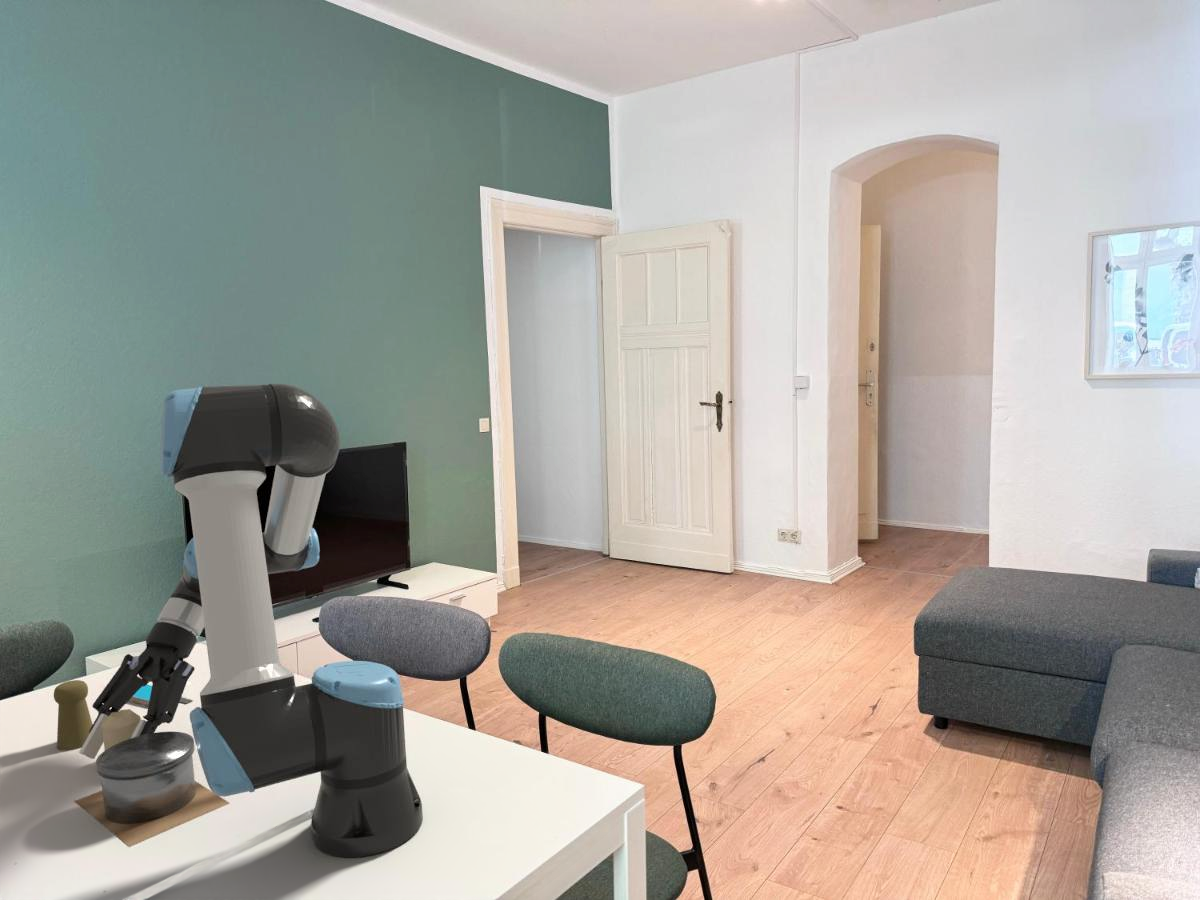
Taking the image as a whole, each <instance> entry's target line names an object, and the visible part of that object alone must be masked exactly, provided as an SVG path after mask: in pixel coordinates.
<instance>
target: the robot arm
mask: <svg viewBox="0 0 1200 900" xmlns="http://www.w3.org/2000/svg"><path fill="white" fill-rule="evenodd" d="M160 430H161V432H160V434H161V435H160V453H159V454H160V455H159V456H160V474H161V475H162V476H164V477H167V478H171V477H173V483H174V485H173V486H174V489H175V490H176V491H177V492H179V493H180V494H182V495H183V496H184V497H186V499H187V500H188V503H189V504H188V505H189V513H190V519H191V520H190V521H191V527H192V528H191V529H192V535H193V537H192V538H191V539H190V541H189V542H188V543H187V545H186V548H185V551H184V552H183V555H182V572H181V577H180V579H179V580H178V582H177V585H176V587H175V588H174V590H173V593H172V594H171V595H170V597H169V599H168V600H167V601H166V603H165V605H164V606H163V609H162V610H161V612H160V614H159V615H158V617H157V622H155V623H154V625H153V627H152V628H151V630H150V631H149V633H148V635H147V636H146V639H145V644H146V645H145V646H146V647H145V649H144V650H143V652H141V653H140V654H139V655H137V656H134V655H131V654H130V653H128V654H125V656H124V657H123V660H122V661H121V664H120V666H119V668H118V669H117V670H116V671H115V673H114V674H113V675H112V677H111V678H110V680H109V682H108V683H107V684H106V686H104V688H103V690H102V691H101V693H100V694H99V695H98V696H97V697H96V699H95V700H94V702H93V703H92V708H93V709H94V710H96V711H97V712H98V713H97V716H96V718H95V719H94V721H93V722H92V724H93V725H92V727H91V728H90V731H89V733H90V734H89V736H88V737H87V739H86V741H85V743H84V744H83V746H82V747H81V748H80V750H79V751H78V753H79V754H81V755H83V756H85V757H87V758H89V759H92V760H94V759H95V758H96V756H97V755H98V754H99V753H98V752H99V751H100V750H101V747H102V746H103V745H104V740H103V730H102V724H103V723H104V722H105V720H106V719H107V718H108V717H109V716H110V714H111V713H112V712H119V711H120V710H122V708H123V707H124V706H125V705H127V703H128V702H130V701H129V700H130V699H131V697H132V696H133V695H134V694H135V693H136V692H137V691H138V690H139V689H140V688H141V687H142V686H146V685H149V683H152V690H151V695H150V700H149V706H147V712H146V714H145V715H143V716H142V718H143V719H141V720H140V722H139V723H138V725H137V727H136V729H135V731H134V733H133V735H132V736H131V738H134V737H137V736H141V735H145V734H150V733H156V730H157V729H158V727H160V726H161V725H162V724H171V723H172V722H173V720H174V717H175V714H176V712H177V709H178V707H179V703H181V702H180V699H181V697H183V693H184V691H185V688H186V687H185V686H186V683H187V682H188V681H189V679H190V677H191V676H192V675H193V673H194V671H195V667H194V666H193V665H192V664H190V663H188V662H187V661H186V659H187V658H189V657H190V655H191V653H192V651H193V649H194V647H195V645H196V644H197V642H198V638H197V637H199V636H200V635H201V633H202V632H203V630H204V631H205V632H204V633H205V640H206V649H207V657H208V665H209V673H210V678H209V680H208V682H207V683H206V684H205V685H204V687H203V688H202V689H201V691H200V692H199V697H200V706H201V707H200V706H197V707H195V708H194V709H192V710H191V711H190V712H189V720H190V723H191V729H192V735H193V739H194V744H195V746H196V751H197V753H198V758H199V761H200V764H201V767H202V770H203V771H202V772H203V774H204V777H205V780H206V782H207V785H208V787H209V790H210V791H212V792H213V793H214V794H216V795H218V796H220V797H221V798H223V797H230V796H235V795H238V794H239V795H240V794H244V793H248V792H249V793H253V792H255V791H256V790H258V789H261V788H265V787H270V786H273V785H276V784H281V783H284V782H287V781H292V780H295V779H298V778H302V777H307V776H310V775H313V774H316V773H320V786H319V789H318V793H317V798H316V801H315V806H314V810H313V811H314V812H313V814H312V817H311V822H310V823H311V824H310V829H311V837H312V839H311V840H312V843H313V844H314V846H315V847H316V849H318V850H319V851H321V852H323V853H324V854H328V855H331V856H335V857H339V858H340V857H342V858H358V857H360V858H361V857H366V856H372V855H376V854H380V853H383V852H386V851H389V850H392V849H394V848H396V847H398V846H400V845H402V844H404V843H406V842H407V841H408V840H410V839H411V838H412V837H413V836H415V835H416V833H418V831H419V830H420V828H421V827H422V824H423V821H424V820H423V819H424V818H423V817H424V815H423V803H422V799H421V797H420V795H419V792H418V790H417V787H416V786H415V783H414V780H413V778H412V776H411V774H410V772H409V769H408V764H407V763H408V762H407V749H406V747H407V746H406V733H405V719H404V718H405V717H404V705H405V700H404V696H403V691H402V690H403V689H402V684H401V680H400V677H399V674H398V673H397V672H396V671H395V669H393V668H391V667H390V666H387V665H385V664H383V663H382V664H381V663H380V662H379V663H378V662H373V661H365V660H344V661H343V660H342V661H336V662H335V661H334V662H331V663H327V664H325V665H324V666H320V667H318V668H317V669H316V670H315V671H314V672H313V675H312V677H311V682H310V683H307V684H304V685H297V686H296V682H295V675H294V672H293V671H291V670H290V669H288V668H287V667H286V666H284V665H282V663H281V660H280V655H279V653H280V652H279V647H278V638H277V633H276V631H277V630H276V624H275V618H274V613H273V612H274V611H273V604H272V596H271V588H270V582H269V575H271V574H272V575H273V574H280V573H287V572H298V571H300V570H304V569H308V568H312V567H315V566H317V564H318V563H319V561H320V551H321V550H320V543H319V542H320V541H319V536H318V534H317V531H316V529H315V527H313V525H314V521H315V517H316V514H317V513H316V512H317V509H318V507H319V506H318V505H319V502H320V497H321V495H322V494H321V493H322V491H323V487H324V482H325V478H326V474H328V473H329V472H330V471H331V470H332V469H333V468H334V466H335V465H336V462H337V459H338V456H339V452H340V449H341V448H340V445H341V441H340V439H341V438H340V432H339V428H338V425H337V423H336V421H335V419H334V417H333V415H332V413H331V412H330V410H328V408H327V407H326V406H325V405H324V404H323V402H321V400H319V399H318V398H316V397H315V396H314V395H313V394H312V393H309V392H308V391H306V390H304V389H302V388H299V387H298V386H294V385H290V384H286V383H269V384H256V385H255V384H250V385H225V386H198V387H195V388H193V387H192V388H185V389H175V390H173V391H170V392H169V393H168V394H166V395H165V397H164V400H163V403H162V413H161V429H160ZM271 466H272V467H273V466H275V471H274V476H273V480H272V486H271V493H270V499H269V503H268V504H269V505H268V511H267V516H266V521H265V528H264V532H262V531H263V530H262V529H263V528H262V523H261V515H260V508H259V501H258V495H257V493H258V489H259V487H260V486H261V485H262V484H263V483H264V481H265V480H266V478H267V473H266V467H271ZM184 659H185V660H184ZM131 738H130V739H131Z"/></svg>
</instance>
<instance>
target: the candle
mask: <svg viewBox="0 0 1200 900" xmlns="http://www.w3.org/2000/svg"><path fill="white" fill-rule="evenodd" d="M140 720H142V719H141V716H140V715H139V714H138V713H136V712H134V711H133V710H132V709H130V708H129V709H120V710H119V711H118V712H112V713H111V714H110V716H109V717H108V718H107V719H106V720H105V722H104V723H103V724H102V730H103V740H104V742H103V747H104V751H105V750H107V749H108V748H110V747H112V746H113V745H115V744H118V743H120V742H122V741H125V740H128V739H130V738H131V736H132V735H133V733H134V731H135V729H136V727H137V725H138V723H139V722H140Z"/></svg>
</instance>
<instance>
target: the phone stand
mask: <svg viewBox="0 0 1200 900" xmlns="http://www.w3.org/2000/svg"><path fill="white" fill-rule="evenodd" d="M152 685H153V684H152ZM152 685H151V684H147V685H146V686H142V687H141V688H140V689H139V690H138V691H137V692H136V693H135V694H134V695H133V696H132V697H131V699H130V700H129V701H128V702H130V703H133V704H137V705H142V706H146V707H148V706H149V700H150V695H151V690H152ZM192 685H193V682H190V681H187V683H186V686H185V688H187V687H189V686H192ZM193 701H194V700H193V699H190V698H186V697H183V696H181V699H180V702H179V703H184V704H188V703H189V702H193Z"/></svg>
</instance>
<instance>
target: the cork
mask: <svg viewBox="0 0 1200 900" xmlns="http://www.w3.org/2000/svg"><path fill="white" fill-rule="evenodd" d="M88 693H89V686H88V683H86V682H85V681H84V680H81V679H77V680H76V679H74V680H69V681H65V682H63V683H60V684H59V685H57V686H56V687H55V688H54V690H53V699H54V702H56V703H57V705H58V709H57V711H58V713H57V736H56V738H57V739H56V749H57V750H59V751H72V750H73V751H74V750H77V749H81V748H82V746H83V744H84V743H85V741H86V739H87V737H88V736H89V734H90V733H89V731H90V728H91V727H92V725H93V721H92V717H91V714H90V710H89V707H88V703H87V700H86V698H87V696H88V695H89V694H88Z"/></svg>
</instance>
